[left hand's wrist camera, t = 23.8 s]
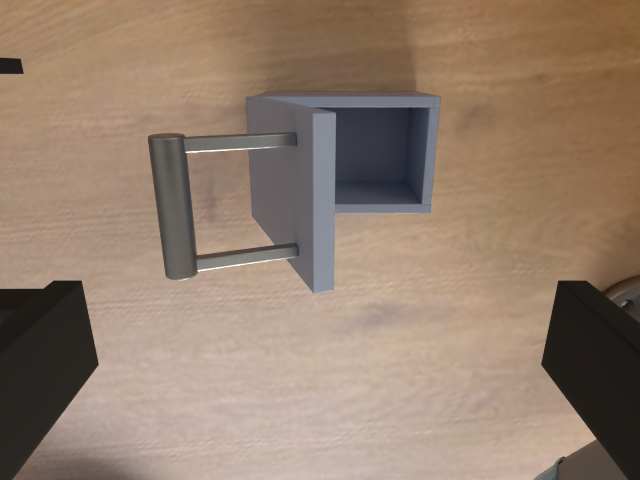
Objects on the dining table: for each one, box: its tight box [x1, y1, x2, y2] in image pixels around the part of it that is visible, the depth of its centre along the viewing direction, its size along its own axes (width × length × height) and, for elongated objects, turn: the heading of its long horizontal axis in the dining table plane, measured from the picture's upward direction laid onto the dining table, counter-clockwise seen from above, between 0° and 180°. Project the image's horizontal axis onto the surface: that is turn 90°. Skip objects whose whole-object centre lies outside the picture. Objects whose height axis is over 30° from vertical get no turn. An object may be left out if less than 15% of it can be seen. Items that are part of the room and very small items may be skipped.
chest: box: [255, 91, 441, 213], centre depth 41 cm, size 15×10×9 cm, turn 90°
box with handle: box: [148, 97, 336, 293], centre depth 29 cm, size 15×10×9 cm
